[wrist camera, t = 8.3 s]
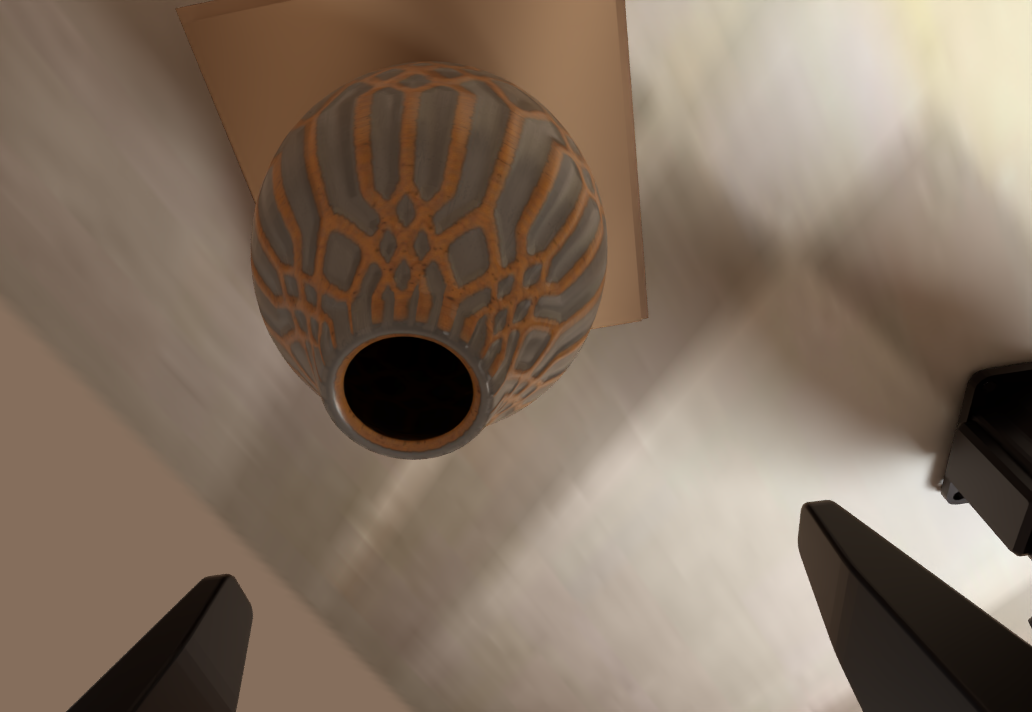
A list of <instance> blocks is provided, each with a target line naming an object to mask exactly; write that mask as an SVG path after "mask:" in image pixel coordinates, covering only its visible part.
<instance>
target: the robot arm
mask: <svg viewBox="0 0 1032 712" xmlns="http://www.w3.org/2000/svg"><path fill="white" fill-rule="evenodd" d="M987 382H988V383H987ZM984 384H985V385H984ZM941 494H942V495H943V497H944V498H945V499H946V500H947V502H948V503H950V504H963V503H969V504H970V505H971V506H972V507H973V508H974V509H975V511H976V512H977V513H978V514H979V515H980V516H981V518H982V519H983V520H984V521H985V522H986V523H987V524H988V526H989V527H990V528H991V529H992V530H993V531H994V533H995V534H996V535H997V536H998V537H999V538H1000V540H1001V541H1002V542H1003V543H1004V544H1005V545H1006V547H1007V548H1008V549H1009V550H1010V551H1011V552H1013V553H1014V554H1016V555H1017V556H1026V555H1028V557H1029V558H1030V559H1031V560H1032V362H1029V363H1022V364H1016V365H1009V366H1003V367H997V368H990V369H984V370H981V371H979V372H977V373H975V374H974V375H973V376H972V377H971V378H970V380H969V382H968V385H967V389H966V393H965V397H964V401H963V405H962V409H961V413H960V417H959V421H958V425H957V429H956V432H955V436H954V440H953V444H952V448H951V452H950V456H949V460H948V464H947V468H946V472H945V476H944V480H943V484H942V488H941ZM798 548H799V552H800V556H801V559H802V561H803V564H804V567H805V570H806V573H807V576H808V578H809V581H810V584H811V587H812V590H813V593H814V595H815V598H816V601H817V604H818V607H819V610H820V612H821V615H822V618H823V621H824V624H825V627H826V629H827V632H828V635H829V638H830V640H831V643H832V646H833V648H834V651H835V653H836V656H837V658H838V660H839V662H840V664H841V667H842V669H843V671H844V673H845V675H846V677H847V679H848V681H849V683H850V685H851V688H852V690H853V692H854V694H855V696H856V698H857V700H858V702H859V704H860V706H861V708H862V710H863V712H1032V646H1031V645H1030V644H1028V643H1027V642H1026V641H1024V640H1023V639H1022V638H1020V637H1019V636H1017V635H1016V634H1015V633H1013V632H1012V631H1011V630H1009V629H1008V628H1007V627H1005V626H1004V625H1002V624H1001V623H1000V622H998V621H997V620H996V619H994V618H993V617H991V616H990V615H989V614H987V613H986V612H985V611H983V610H982V609H981V608H979V607H978V606H976V605H975V604H974V603H972V602H971V601H970V600H968V599H967V598H965V597H964V596H963V595H961V594H960V593H959V592H957V591H956V590H955V589H953V588H952V587H950V586H949V585H948V584H946V583H945V582H944V581H942V580H941V579H939V578H938V577H937V576H935V575H934V574H933V573H931V572H930V571H929V570H927V569H926V568H924V567H923V566H922V565H920V564H919V563H918V562H916V561H915V560H913V559H912V558H911V557H909V556H908V555H907V554H905V553H904V552H903V551H901V550H900V549H898V548H897V547H896V546H894V545H893V544H892V543H890V542H889V541H887V540H886V539H885V538H883V537H882V536H881V535H879V534H878V533H877V532H875V531H874V530H872V529H871V528H870V527H868V526H867V525H866V524H864V523H863V522H861V521H860V520H859V519H857V518H856V517H855V516H853V515H852V514H851V513H849V512H848V511H846V510H845V509H844V508H842V507H841V506H840V505H838V504H837V503H835V502H833V501H831V500H822V501H814V502H807V503H805V504H803V506H802V508H801V514H800V523H799V533H798ZM252 619H253V613H252V607H251V604H250V602H249V600H248V599H247V597H246V595H245V594H244V592H243V590H242V589H241V587H240V585H239V584H238V582H237V580H236V579H235V577H234V576H232V575H230V574H222V575H214V576H208V577H205V578H204V579H202V580H201V581H200V582H199V583H198V584H197V585H196V586H195V587H194V588H192V589H191V590H190V591H189V592H188V593H187V594H186V595H185V596H184V597H183V598H182V599H181V600H180V601H179V602H178V603H177V604H176V605H175V606H174V607H173V608H172V609H171V610H170V611H169V612H168V613H167V614H166V615H165V616H164V617H163V618H162V619H161V620H160V621H159V622H158V623H157V624H156V625H155V626H154V627H152V628H151V630H149V631H148V632H147V633H146V635H144V636H143V637H142V638H141V639H140V640H139V641H138V642H137V643H136V644H135V645H134V646H133V647H132V648H131V649H130V650H129V651H128V652H127V653H126V654H125V655H124V656H123V657H122V658H121V659H120V660H119V661H118V662H117V663H116V664H115V665H114V666H112V667H111V668H110V669H109V670H108V671H107V672H106V674H104V675H103V676H102V677H101V678H100V679H99V680H98V681H97V682H96V683H95V684H94V685H93V686H92V687H91V688H90V689H89V690H88V691H87V692H86V693H85V694H84V695H83V696H82V697H81V698H80V699H79V700H78V701H77V702H76V703H75V704H74V705H73V706H71V707H70V708H69V709H68V710H67V711H66V712H236V708H237V703H238V698H239V692H240V687H241V681H242V675H243V670H244V665H245V659H246V653H247V648H248V642H249V636H250V631H251V625H252ZM1028 622H1029V624H1030V626H1031V628H1032V617H1031V618H1030V619H1029V620H1028Z"/></svg>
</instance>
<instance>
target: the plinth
mask: <svg viewBox="0 0 1032 712" xmlns="http://www.w3.org/2000/svg"><path fill="white" fill-rule="evenodd" d="M176 11H177V14H178V16H179V19H180V21H181V24H182V26H183V29H184V31H185V33H186V36H187V38H188V41H189V43H190V46H191V48H192V51H193V53H194V55H195V58H196V60H197V63H198V65H199V68H200V70H201V72H202V75H203V77H204V80H205V82H206V85H207V87H208V90H209V92H210V94H211V97H212V99H213V102H214V104H215V107H216V109H217V112H218V114H219V116H220V119H221V121H222V124H223V126H224V129H225V131H226V133H227V136H228V138H229V141H230V143H231V146H232V148H233V151H234V153H235V155H236V158H237V160H238V163H239V165H240V168H241V170H242V172H243V175H244V177H245V180H246V182H247V185H248V187H249V190H250V192H251V194H252V197H253V199H254V202H255V204H256V201H257V198H258V194H259V190H260V187H261V184H262V181H263V179H264V176H265V174H266V171H267V169H268V167H269V165H270V163H271V161H272V159H273V157H274V154H275V153H276V151H277V149H278V148H279V146H280V144H281V143H282V141H283V140H284V139H285V137H286V136H287V135H288V133H289V132H290V131H291V129H292V128H293V127H294V126H295V125H296V124H297V123H298V122H299V121H300V119H301V118H302V117H303V116H304V115H305V114H306V113H307V112H308V111H309V110H310V109H311V108H312V107H313V106H315V105H316V104H317V103H318V102H319V101H321V100H322V99H323V98H325V97H326V96H327V95H329V94H330V93H332V92H333V91H335V90H336V89H338V88H339V87H341V86H343V85H344V84H346V83H348V82H350V81H352V80H354V79H356V78H358V77H360V76H362V75H365V74H367V73H370V72H373V71H376V70H379V69H382V68H386V67H389V66H393V65H398V64H403V63H411V62H424V61H436V62H449V63H456V64H462V65H466V66H471V67H475V68H478V69H481V70H484V71H487V72H490V73H492V74H495V75H497V76H500V77H502V78H504V79H506V80H507V81H509V82H511V83H513V84H515V85H516V86H518V87H520V88H521V89H523V90H525V91H526V92H527V93H529V94H530V95H531V96H533V97H534V98H535V99H537V100H538V101H539V102H540V103H541V104H542V105H543V106H545V107H546V108H547V109H548V110H549V111H550V112H551V113H552V114H553V115H554V116H555V117H556V118H557V120H558V121H559V122H560V123H561V124H562V125H563V126H564V128H565V129H566V130H567V131H568V133H569V134H570V135H571V137H572V138H573V140H574V141H575V143H576V144H577V146H578V148H579V149H580V151H581V153H582V154H583V156H584V158H585V160H586V162H587V164H588V166H589V168H590V170H591V172H592V174H593V177H594V179H595V182H596V185H597V188H598V191H599V194H600V198H601V201H602V205H603V209H604V214H605V219H606V227H607V243H608V258H607V270H606V278H605V283H604V289H603V293H602V298H601V301H600V304H599V308H598V311H597V314H596V317H595V320H594V322H593V325H592V327H591V329H595V328H601V327H607V326H613V325H619V324H625V323H631V322H637V321H641V319H645V318H648V307H647V293H646V280H645V266H644V252H643V239H642V225H641V212H640V198H639V185H638V171H637V158H636V144H635V131H634V117H633V104H632V90H631V77H630V63H629V50H628V36H627V23H626V9H625V0H214V1H209V2H205V3H200V4H195V5H190V6H186V7H181V8H176Z"/></svg>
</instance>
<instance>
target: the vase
mask: <svg viewBox="0 0 1032 712" xmlns="http://www.w3.org/2000/svg"><path fill="white" fill-rule="evenodd" d="M607 258H608V243H607V227H606V219H605V214H604V209H603V205H602V201H601V198H600V194H599V191H598V188H597V185H596V182H595V179H594V177H593V174H592V172H591V170H590V168H589V166H588V164H587V162H586V160H585V158H584V156H583V154H582V153H581V151H580V149H579V148H578V146H577V144H576V143H575V141H574V140H573V138H572V137H571V135H570V134H569V133H568V131H567V130H566V129H565V128H564V126H563V125H562V124H561V123H560V122H559V121H558V120H557V118H556V117H555V116H554V115H553V114H552V113H551V112H550V111H549V110H548V109H547V108H546V107H545V106H543V105H542V104H541V103H540V102H539V101H538V100H537V99H535V98H534V97H533V96H531V95H530V94H529V93H527V92H526V91H525V90H523V89H521V88H520V87H518V86H516V85H515V84H513V83H511V82H509V81H507V80H506V79H504V78H502V77H500V76H497V75H495V74H492V73H490V72H487V71H484V70H481V69H478V68H475V67H471V66H466V65H462V64H456V63H449V62H436V61H424V62H411V63H403V64H398V65H393V66H389V67H386V68H382V69H379V70H376V71H373V72H370V73H367V74H365V75H362V76H360V77H358V78H356V79H354V80H352V81H350V82H348V83H346V84H344V85H343V86H341V87H339V88H338V89H336V90H335V91H333V92H332V93H330V94H329V95H327V96H326V97H325V98H323V99H322V100H321V101H319V102H318V103H317V104H316V105H315V106H313V107H312V108H311V109H310V110H309V111H308V112H307V113H306V114H305V115H304V116H303V117H302V118H301V119H300V121H299V122H298V123H297V124H296V125H295V126H294V127H293V128H292V129H291V131H290V132H289V133H288V135H287V136H286V137H285V139H284V140H283V141H282V143H281V144H280V146H279V148H278V149H277V151H276V153H275V154H274V157H273V159H272V161H271V163H270V165H269V167H268V169H267V171H266V174H265V176H264V179H263V181H262V184H261V187H260V190H259V194H258V198H257V201H256V206H255V211H254V217H253V222H252V234H251V266H252V277H253V284H254V289H255V294H256V298H257V301H258V305H259V308H260V312H261V315H262V317H263V320H264V323H265V325H266V327H267V330H268V332H269V334H270V336H271V338H272V339H273V341H274V343H275V345H276V346H277V348H278V350H279V351H280V353H281V354H282V356H283V357H284V359H285V360H286V362H287V363H288V364H289V366H290V367H291V368H292V370H293V371H294V372H295V373H296V374H297V375H298V376H299V377H300V379H301V380H303V381H304V382H305V383H306V384H307V385H308V386H309V387H310V388H311V389H312V390H313V391H314V392H315V393H316V394H318V395H319V396H320V397H321V399H322V401H323V404H324V406H325V409H326V410H327V412H328V414H329V416H330V417H331V419H332V421H333V422H334V423H335V424H336V426H337V427H338V428H339V429H340V430H341V431H342V432H343V433H344V434H345V435H346V436H348V437H349V438H350V439H351V440H353V441H354V442H356V443H357V444H359V445H360V446H362V447H364V448H366V449H368V450H370V451H373V452H375V453H378V454H381V455H384V456H388V457H393V458H399V459H411V460H416V459H428V458H434V457H438V456H442V455H445V454H448V453H451V452H453V451H455V450H457V449H459V448H461V447H463V446H464V445H466V444H467V443H469V442H470V441H471V440H473V439H474V438H475V437H476V436H477V435H478V434H479V433H480V432H481V431H482V430H483V429H484V427H486V426H488V425H491V424H494V423H496V422H498V421H500V420H503V419H505V418H507V417H509V416H511V415H513V414H515V413H517V412H518V411H520V410H522V409H523V408H525V407H526V406H528V405H529V404H531V403H532V402H533V401H535V400H536V399H537V398H539V397H540V396H541V395H542V394H543V393H545V392H546V391H547V390H548V389H549V388H550V387H551V386H552V385H553V384H554V383H555V382H556V381H557V380H558V379H559V378H560V377H561V376H562V375H563V373H564V372H565V371H566V370H567V368H568V367H569V365H570V364H571V363H572V361H573V360H574V359H575V357H576V356H577V354H578V352H579V351H580V349H581V348H582V346H583V344H584V342H585V340H586V338H587V336H588V334H589V332H590V329H591V327H592V325H593V322H594V320H595V317H596V314H597V311H598V308H599V304H600V301H601V298H602V293H603V289H604V283H605V278H606V270H607Z"/></svg>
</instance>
